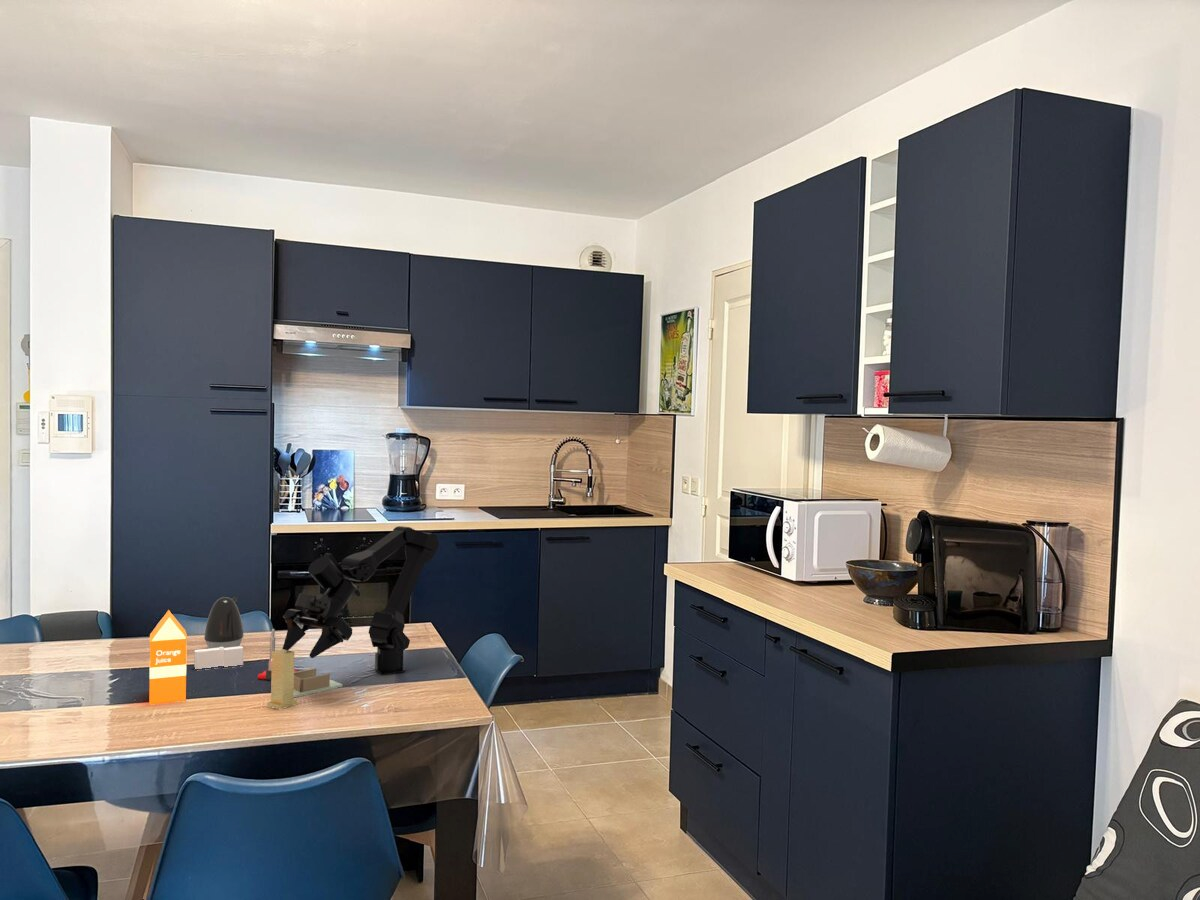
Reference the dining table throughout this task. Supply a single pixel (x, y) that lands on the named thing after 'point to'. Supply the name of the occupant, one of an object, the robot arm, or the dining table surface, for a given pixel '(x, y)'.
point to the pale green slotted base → (312, 682)
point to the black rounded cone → (224, 624)
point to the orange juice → (167, 661)
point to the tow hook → (268, 672)
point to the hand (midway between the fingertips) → (297, 654)
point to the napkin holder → (218, 657)
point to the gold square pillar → (282, 679)
